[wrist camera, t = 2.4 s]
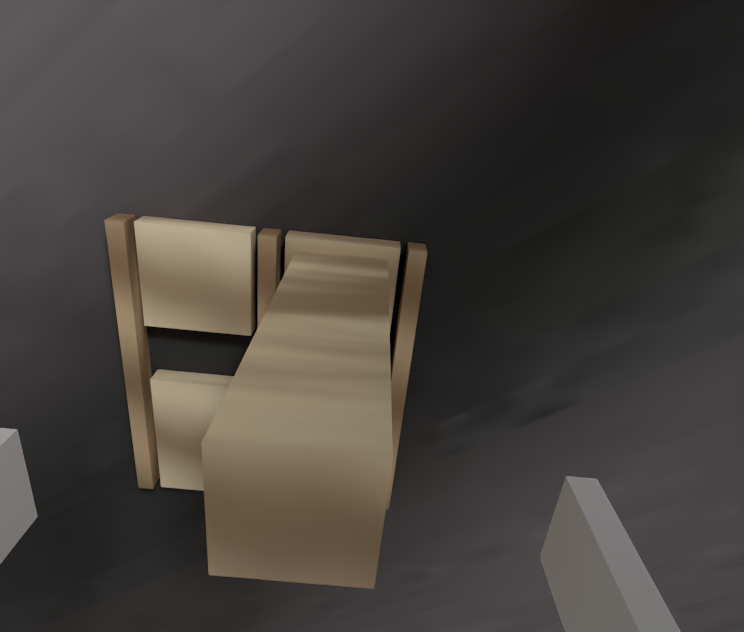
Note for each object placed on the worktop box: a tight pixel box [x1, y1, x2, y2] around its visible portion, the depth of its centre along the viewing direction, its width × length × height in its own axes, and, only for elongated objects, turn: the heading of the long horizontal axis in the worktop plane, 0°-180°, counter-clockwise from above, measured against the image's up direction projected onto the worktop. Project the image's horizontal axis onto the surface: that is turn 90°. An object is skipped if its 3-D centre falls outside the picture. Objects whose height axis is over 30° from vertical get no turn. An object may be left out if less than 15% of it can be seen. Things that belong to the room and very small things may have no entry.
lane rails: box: [104, 213, 427, 510], centre depth 26 cm, size 15×14×1 cm
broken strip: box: [134, 216, 256, 491], centre depth 26 cm, size 15×5×1 cm, turn 175°
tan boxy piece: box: [201, 230, 401, 589], centre depth 20 cm, size 15×5×14 cm, turn 175°
